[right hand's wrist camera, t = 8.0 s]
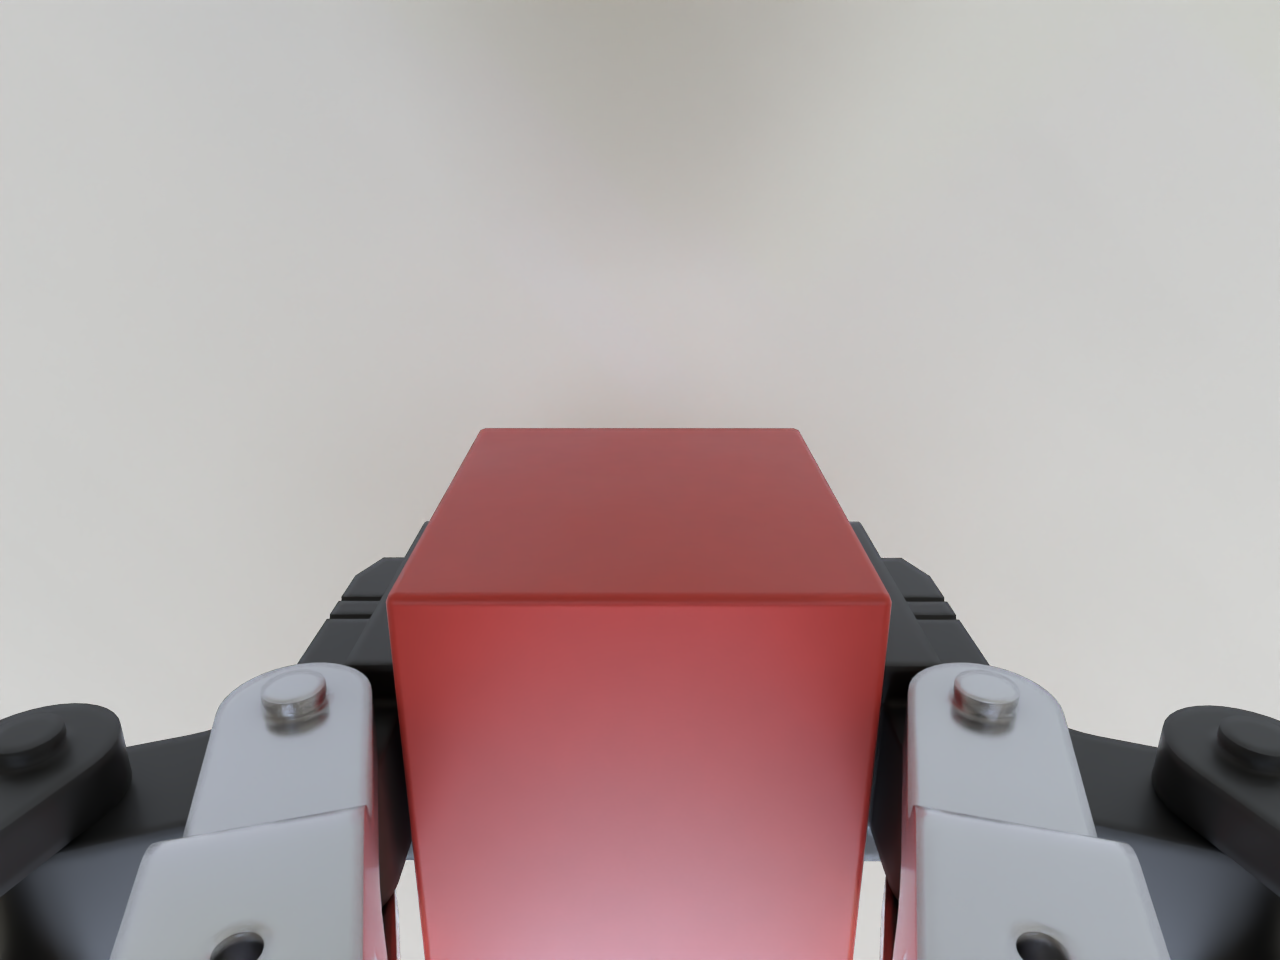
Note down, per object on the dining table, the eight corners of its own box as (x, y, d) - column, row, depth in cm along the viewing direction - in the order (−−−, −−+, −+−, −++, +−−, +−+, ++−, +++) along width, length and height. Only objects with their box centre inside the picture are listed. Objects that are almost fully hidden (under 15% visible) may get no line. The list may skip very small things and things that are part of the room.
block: (782, 705, 13) (852, 988, 9) (497, 705, 13) (425, 987, 9) (799, 426, 12) (895, 596, 7) (480, 426, 12) (381, 597, 7)
